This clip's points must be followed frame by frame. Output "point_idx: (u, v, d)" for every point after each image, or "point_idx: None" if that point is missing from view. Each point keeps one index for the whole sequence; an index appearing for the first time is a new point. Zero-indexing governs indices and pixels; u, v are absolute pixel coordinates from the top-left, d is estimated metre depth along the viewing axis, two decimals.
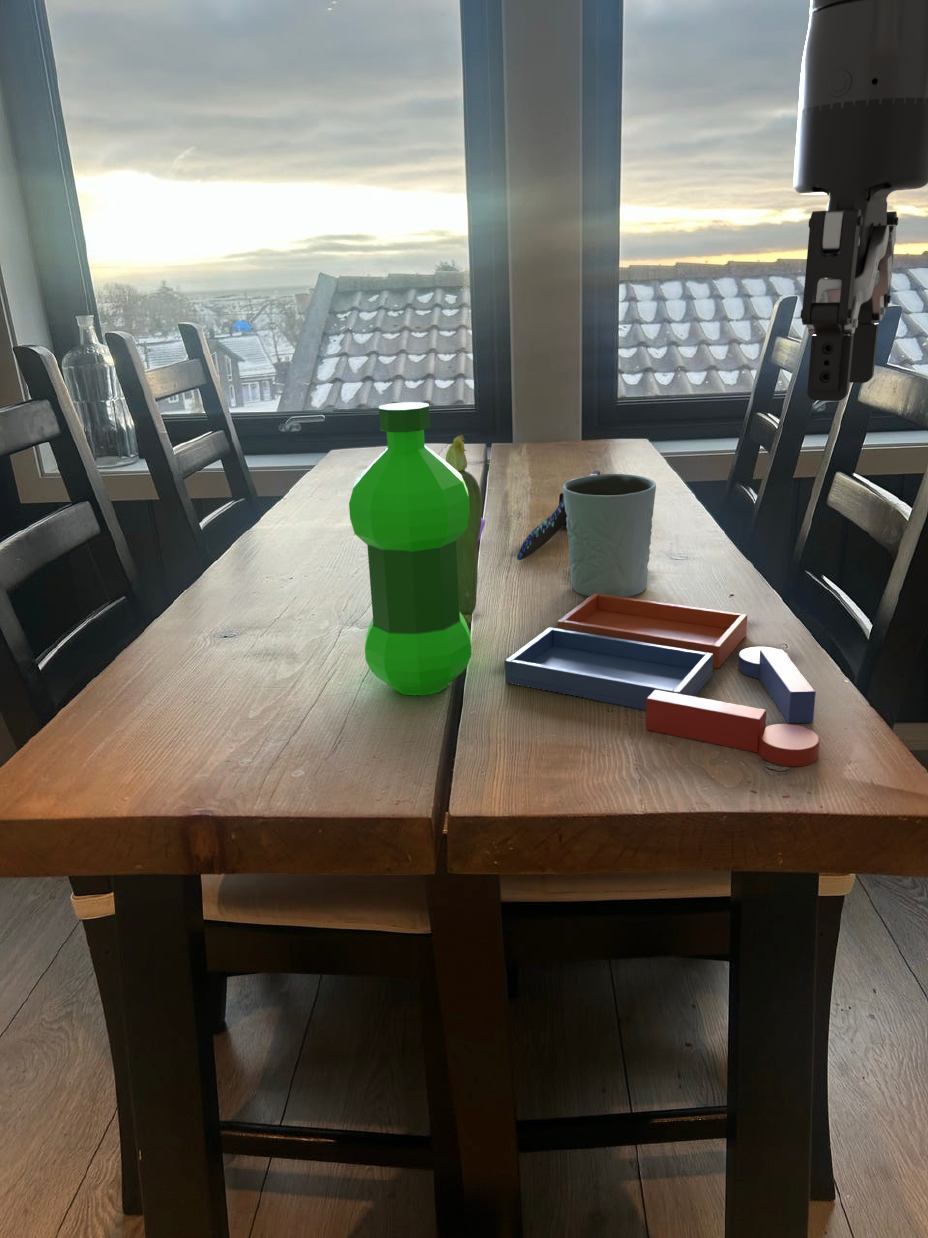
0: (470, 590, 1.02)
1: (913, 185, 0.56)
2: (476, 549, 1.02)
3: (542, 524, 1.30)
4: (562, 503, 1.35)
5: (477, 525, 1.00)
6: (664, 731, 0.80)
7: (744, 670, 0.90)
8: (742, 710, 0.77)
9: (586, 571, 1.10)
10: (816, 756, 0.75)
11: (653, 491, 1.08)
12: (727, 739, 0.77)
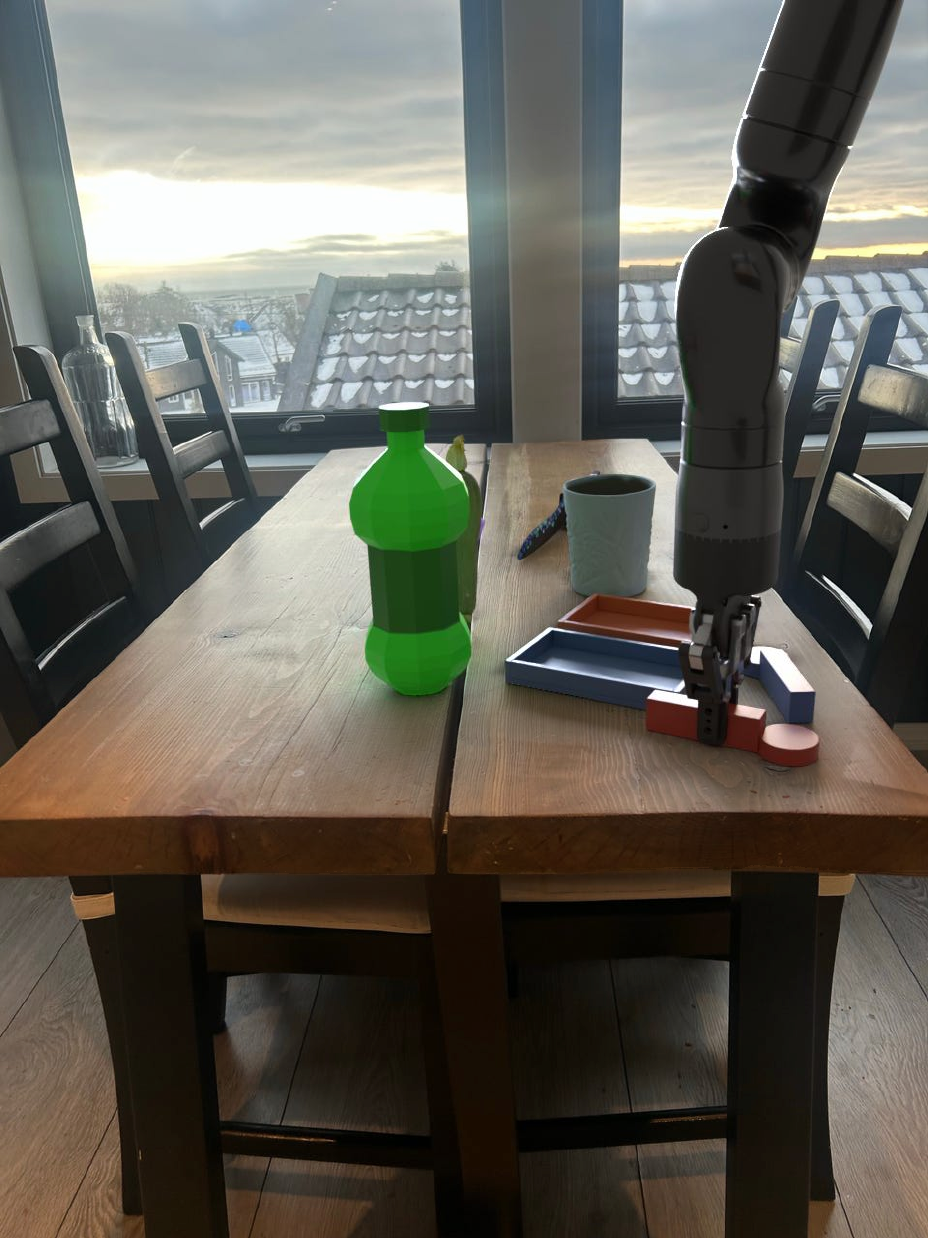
0: (470, 590, 1.02)
1: (761, 592, 0.71)
2: (476, 549, 1.02)
3: (542, 524, 1.30)
4: (562, 503, 1.35)
5: (477, 525, 1.00)
6: (664, 731, 0.80)
7: (744, 670, 0.90)
8: (742, 710, 0.77)
9: (586, 571, 1.10)
10: (816, 756, 0.75)
11: (653, 491, 1.08)
12: (727, 739, 0.77)
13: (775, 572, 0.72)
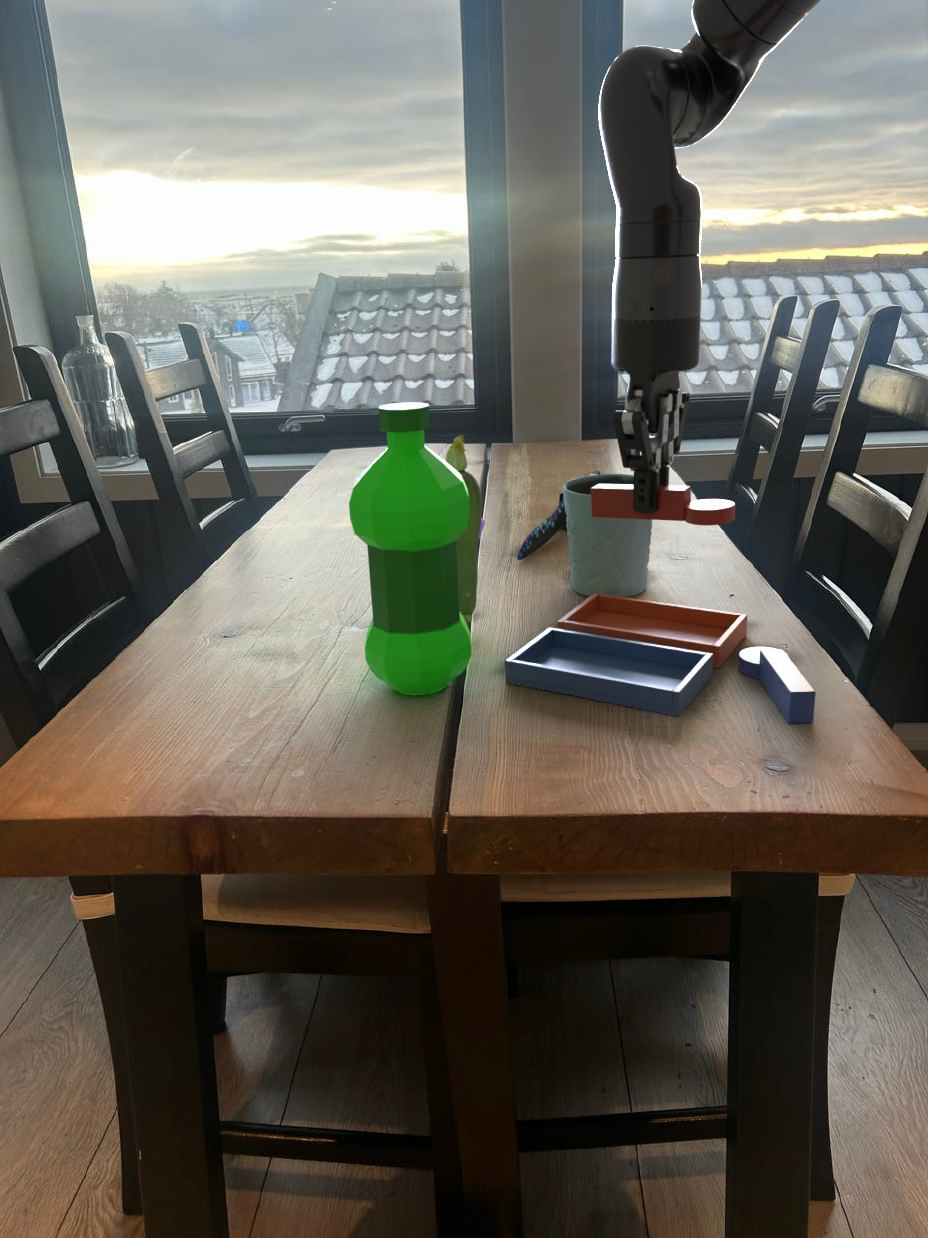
0: (470, 590, 1.02)
1: (683, 370, 0.85)
2: (476, 549, 1.02)
3: (542, 524, 1.30)
4: (562, 503, 1.35)
5: (477, 525, 1.00)
6: (607, 515, 0.93)
7: (744, 670, 0.90)
8: (670, 487, 0.91)
9: (586, 571, 1.10)
10: (732, 517, 0.88)
11: None
12: (659, 513, 0.91)
13: (695, 354, 0.85)
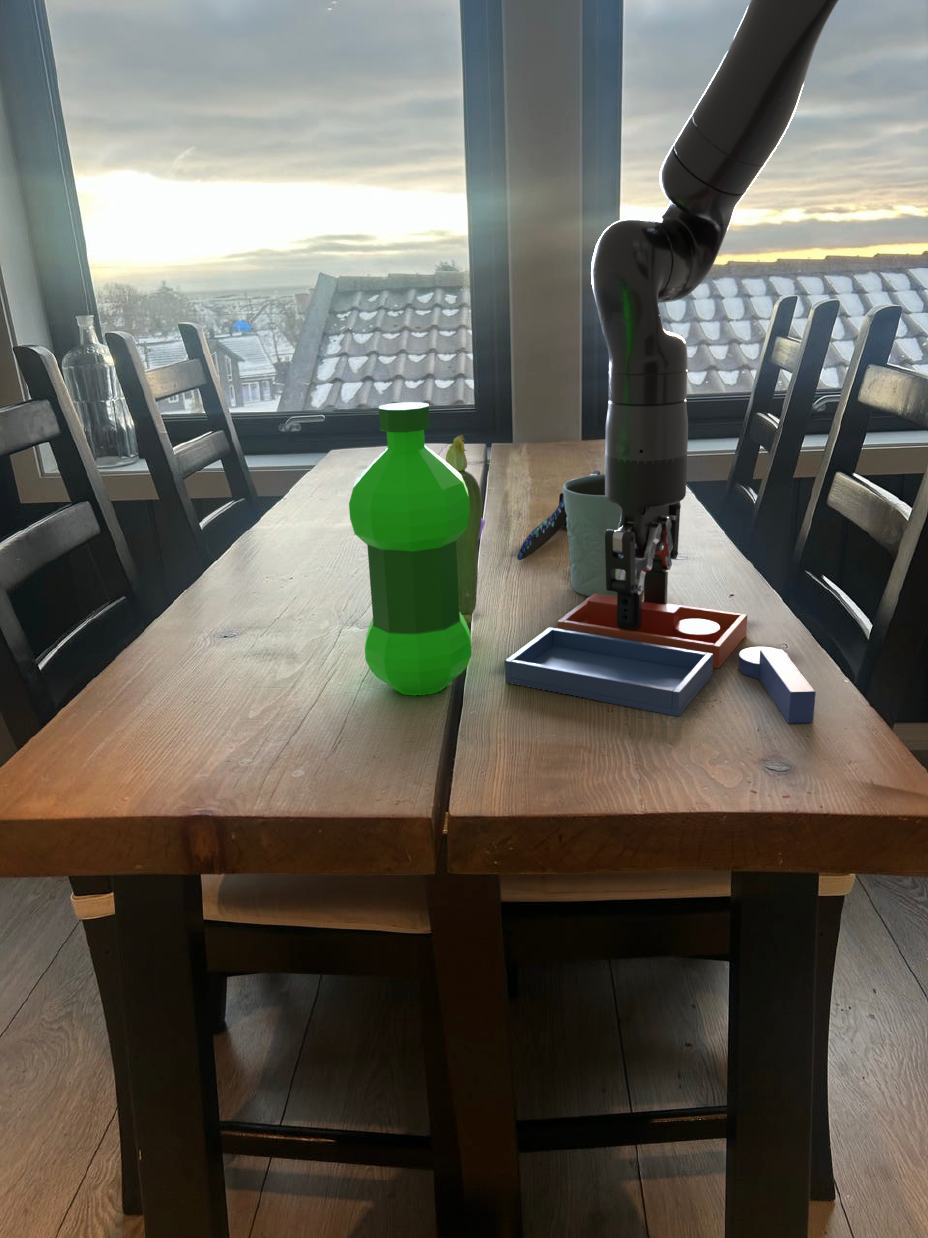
0: (470, 590, 1.02)
1: (671, 504, 0.92)
2: (476, 549, 1.02)
3: (542, 524, 1.30)
4: (562, 503, 1.35)
5: (477, 525, 1.00)
6: None
7: (744, 670, 0.90)
8: (661, 607, 0.97)
9: (586, 571, 1.10)
10: (717, 640, 0.95)
11: None
12: (649, 630, 0.98)
13: (682, 489, 0.92)
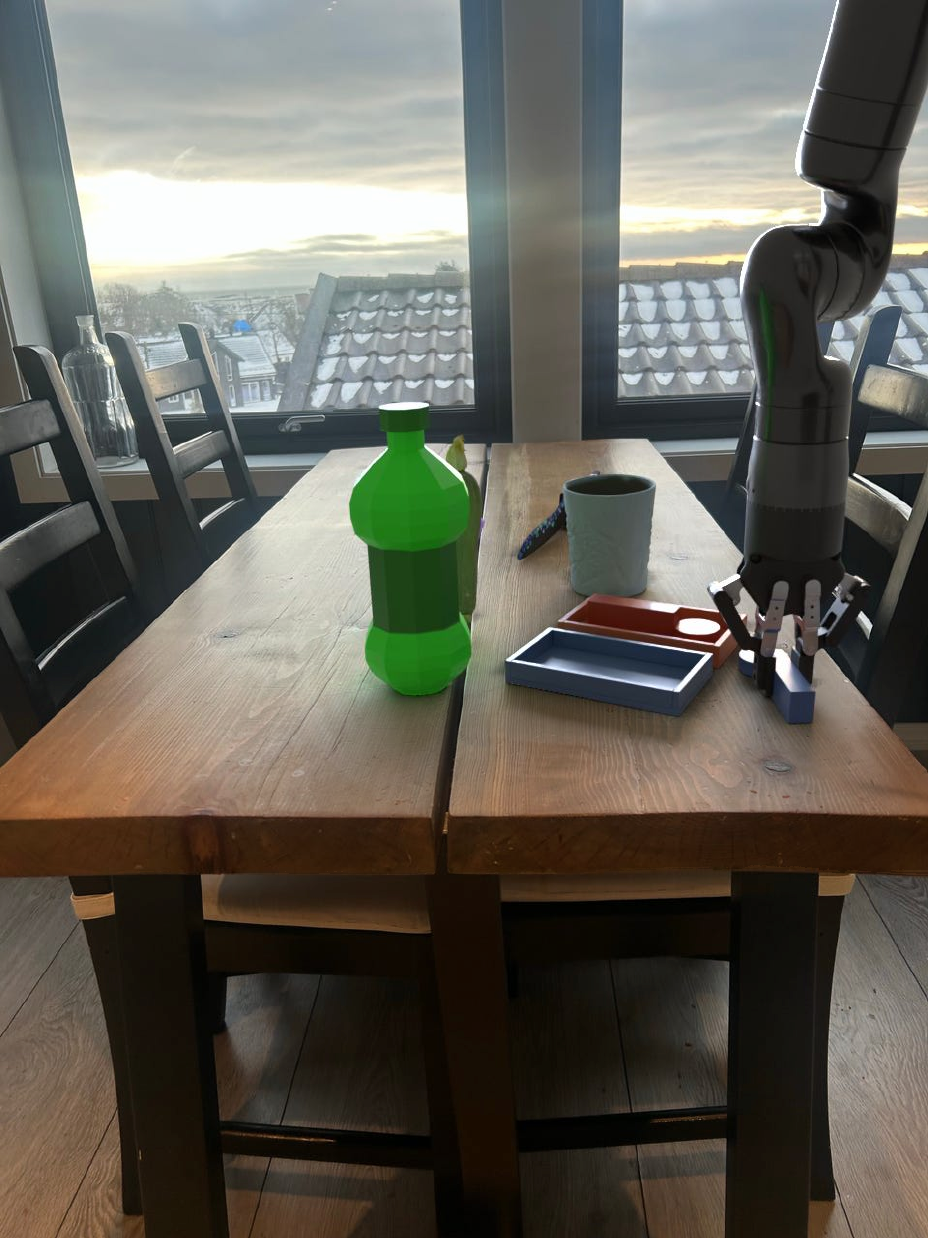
0: (470, 590, 1.02)
1: (785, 561, 0.78)
2: (476, 549, 1.02)
3: (542, 524, 1.30)
4: (562, 503, 1.35)
5: (477, 525, 1.00)
6: None
7: (744, 670, 0.90)
8: (661, 607, 0.97)
9: (586, 571, 1.10)
10: (717, 640, 0.95)
11: (653, 491, 1.08)
12: (649, 630, 0.98)
13: (804, 547, 0.77)
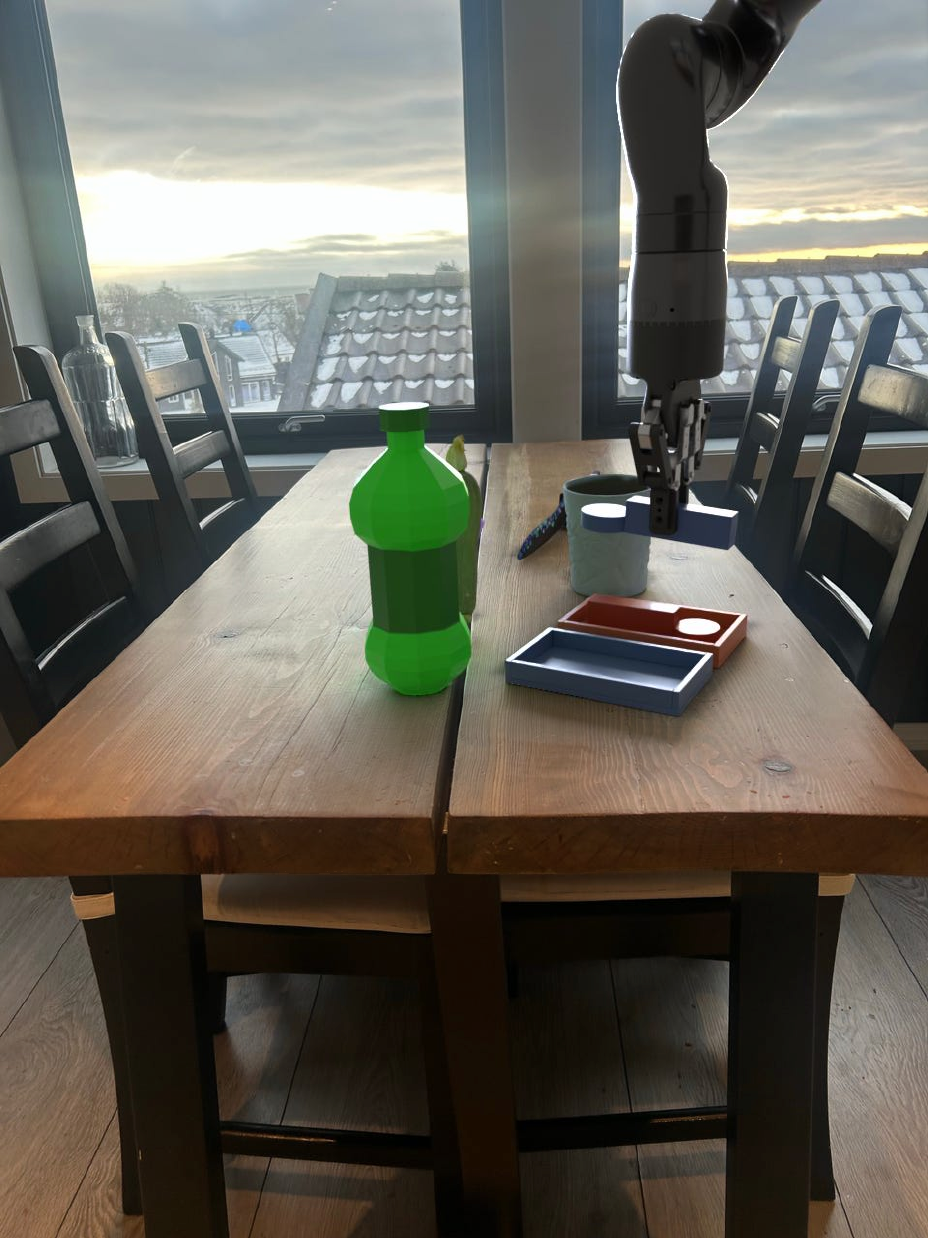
0: (470, 590, 1.02)
1: (706, 378, 0.76)
2: (476, 549, 1.02)
3: (542, 524, 1.30)
4: (562, 503, 1.35)
5: (477, 525, 1.00)
6: None
7: (608, 528, 0.84)
8: (661, 607, 0.97)
9: (586, 571, 1.10)
10: (717, 640, 0.95)
11: None
12: (649, 630, 0.98)
13: (720, 360, 0.77)
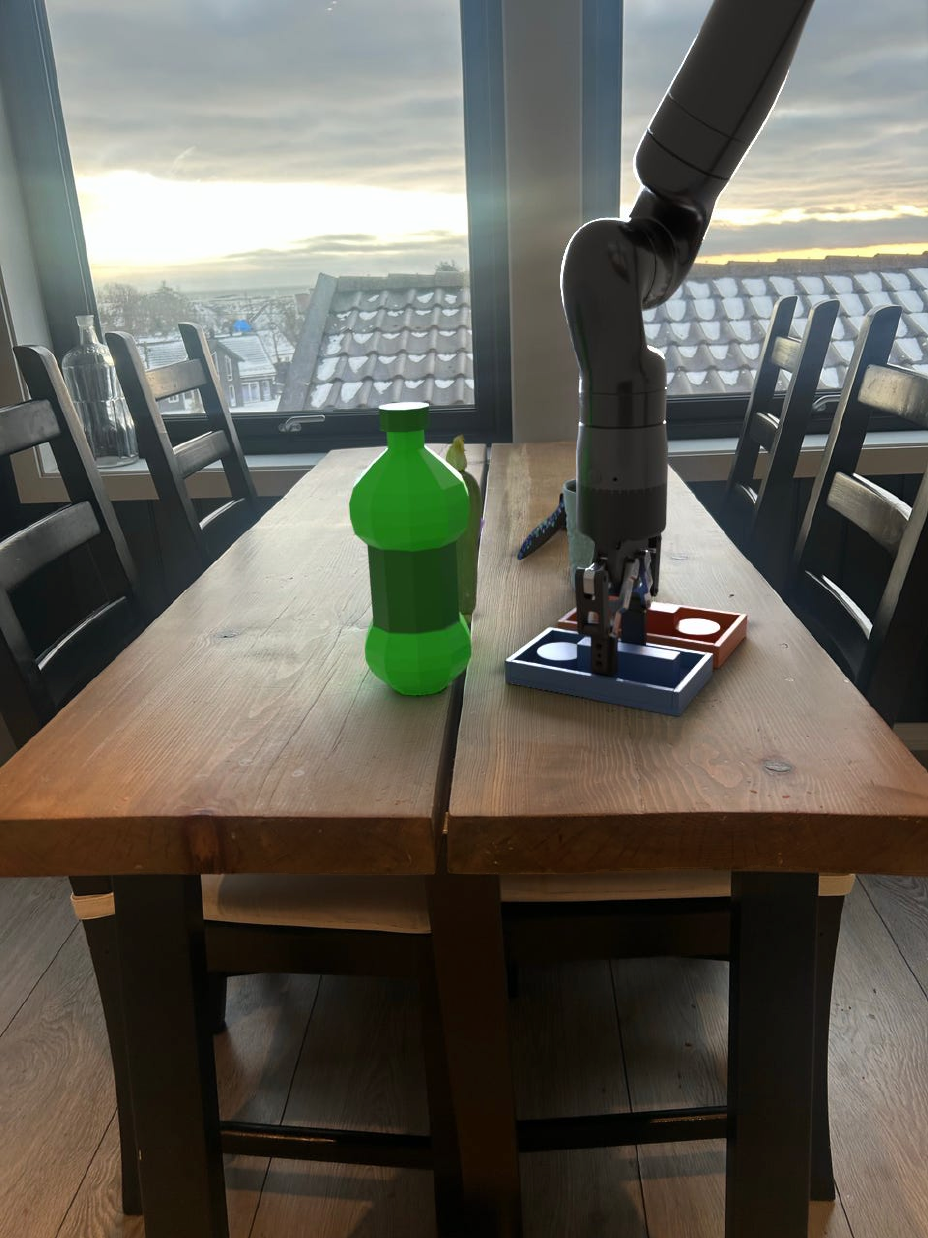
0: (470, 590, 1.02)
1: (649, 538, 0.82)
2: (476, 549, 1.02)
3: (542, 524, 1.30)
4: (562, 503, 1.35)
5: (477, 525, 1.00)
6: None
7: None
8: (661, 607, 0.97)
9: None
10: (717, 640, 0.95)
11: None
12: (649, 630, 0.98)
13: (662, 520, 0.82)
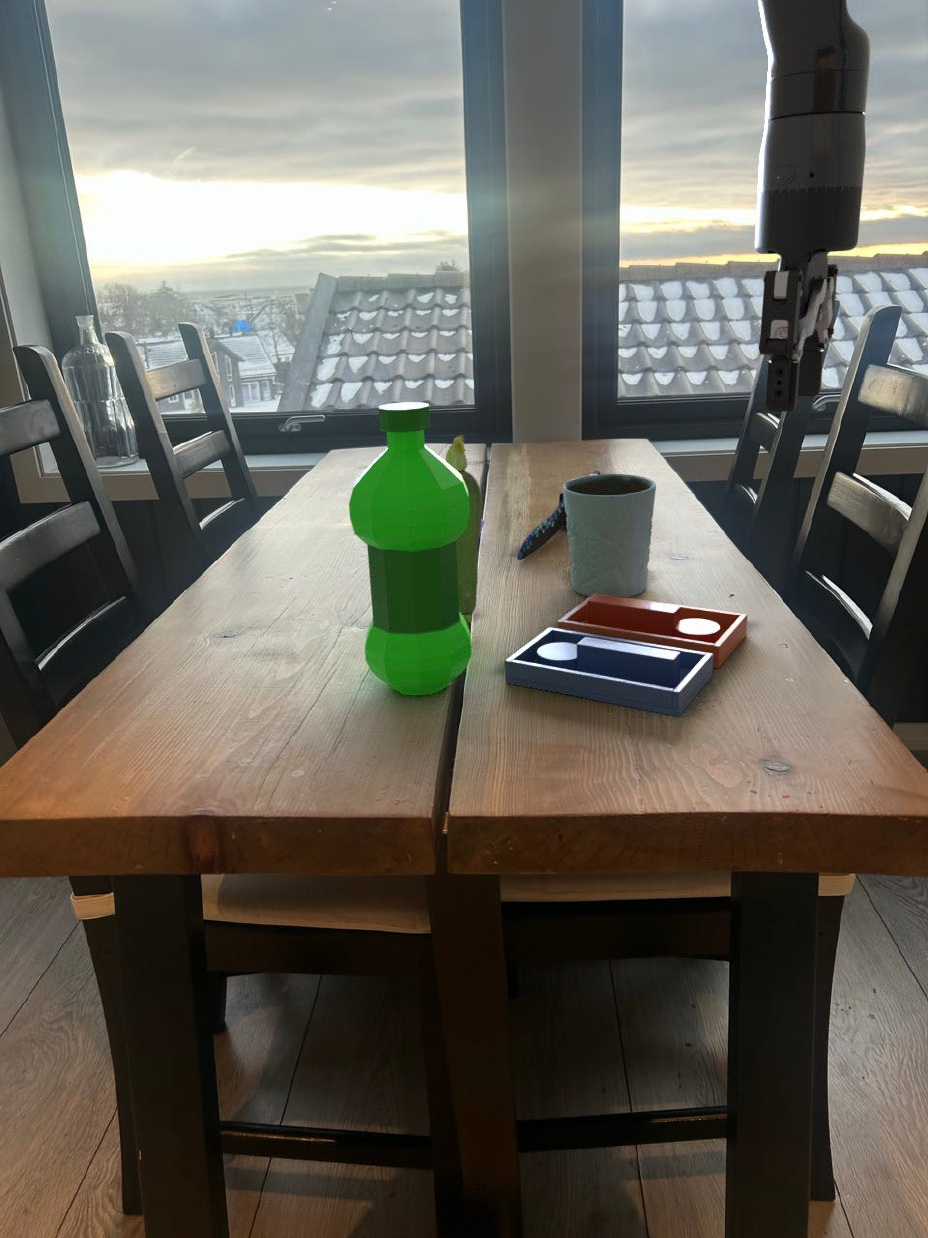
0: (470, 590, 1.02)
1: (843, 249, 0.74)
2: (476, 549, 1.02)
3: (542, 524, 1.30)
4: (562, 503, 1.35)
5: (477, 525, 1.00)
6: None
7: None
8: (661, 607, 0.97)
9: (586, 571, 1.10)
10: (717, 640, 0.95)
11: (653, 491, 1.08)
12: (649, 630, 0.98)
13: (856, 231, 0.75)
